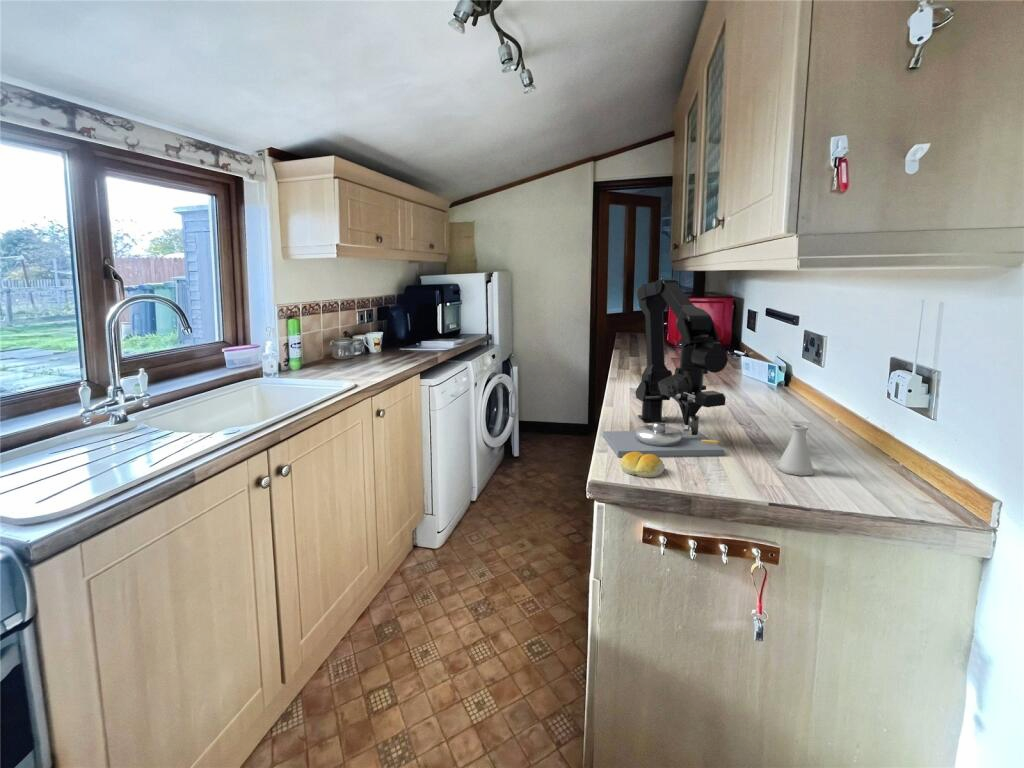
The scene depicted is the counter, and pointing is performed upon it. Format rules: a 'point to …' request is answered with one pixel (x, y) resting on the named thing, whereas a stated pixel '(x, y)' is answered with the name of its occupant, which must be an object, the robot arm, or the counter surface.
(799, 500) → the counter surface
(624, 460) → the bread roll
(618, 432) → the slate board
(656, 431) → the silver round handled piece
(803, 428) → the flask
